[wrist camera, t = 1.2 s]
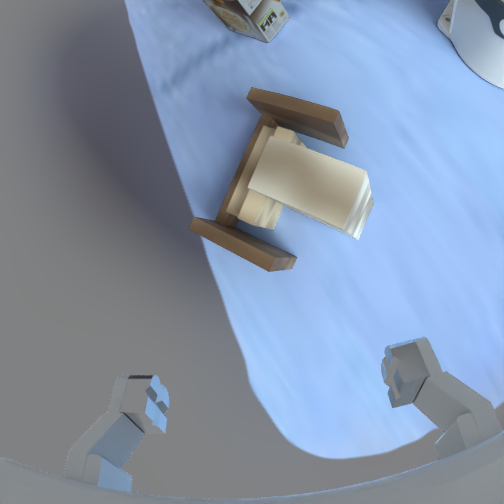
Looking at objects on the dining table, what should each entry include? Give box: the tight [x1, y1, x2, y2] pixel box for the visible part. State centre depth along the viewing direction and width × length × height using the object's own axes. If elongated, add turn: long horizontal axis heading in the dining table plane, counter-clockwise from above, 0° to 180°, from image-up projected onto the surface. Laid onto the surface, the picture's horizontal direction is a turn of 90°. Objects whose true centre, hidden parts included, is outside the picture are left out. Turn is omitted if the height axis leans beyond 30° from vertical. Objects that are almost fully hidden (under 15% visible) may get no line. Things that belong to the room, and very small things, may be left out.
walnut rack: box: [189, 87, 349, 272], centre depth 35 cm, size 18×10×8 cm, turn 155°
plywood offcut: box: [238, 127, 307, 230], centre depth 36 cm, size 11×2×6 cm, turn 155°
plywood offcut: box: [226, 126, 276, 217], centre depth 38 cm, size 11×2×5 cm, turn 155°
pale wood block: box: [247, 136, 373, 240], centre depth 30 cm, size 4×8×15 cm, turn 65°
